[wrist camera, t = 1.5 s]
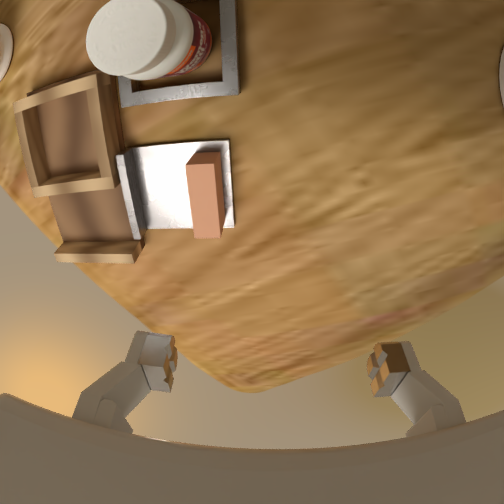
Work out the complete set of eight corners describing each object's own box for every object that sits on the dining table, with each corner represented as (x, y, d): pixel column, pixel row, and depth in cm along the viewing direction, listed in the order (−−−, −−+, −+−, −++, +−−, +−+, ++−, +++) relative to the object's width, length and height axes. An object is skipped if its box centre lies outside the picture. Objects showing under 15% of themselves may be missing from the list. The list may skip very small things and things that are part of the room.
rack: (114, 65, 23) (95, 68, 20) (144, 245, 34) (134, 263, 31) (32, 92, 23) (11, 98, 20) (70, 245, 34) (57, 261, 32)
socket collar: (236, -15, 18) (233, -20, 17) (240, 92, 24) (238, 94, 23) (123, 5, 19) (113, 2, 17) (130, 104, 25) (121, 107, 23)
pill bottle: (204, 80, 24) (164, 90, 14) (140, 71, 23) (71, 83, 14) (220, 16, 20) (189, -13, 11) (154, 10, 20) (89, -11, 10)
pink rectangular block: (220, 151, 27) (213, 163, 24) (225, 219, 31) (220, 238, 28) (194, 153, 27) (185, 164, 24) (201, 219, 31) (194, 238, 28)
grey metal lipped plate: (229, 139, 27) (225, 146, 24) (234, 224, 32) (231, 238, 30) (127, 147, 27) (115, 155, 25) (142, 226, 32) (134, 239, 30)
